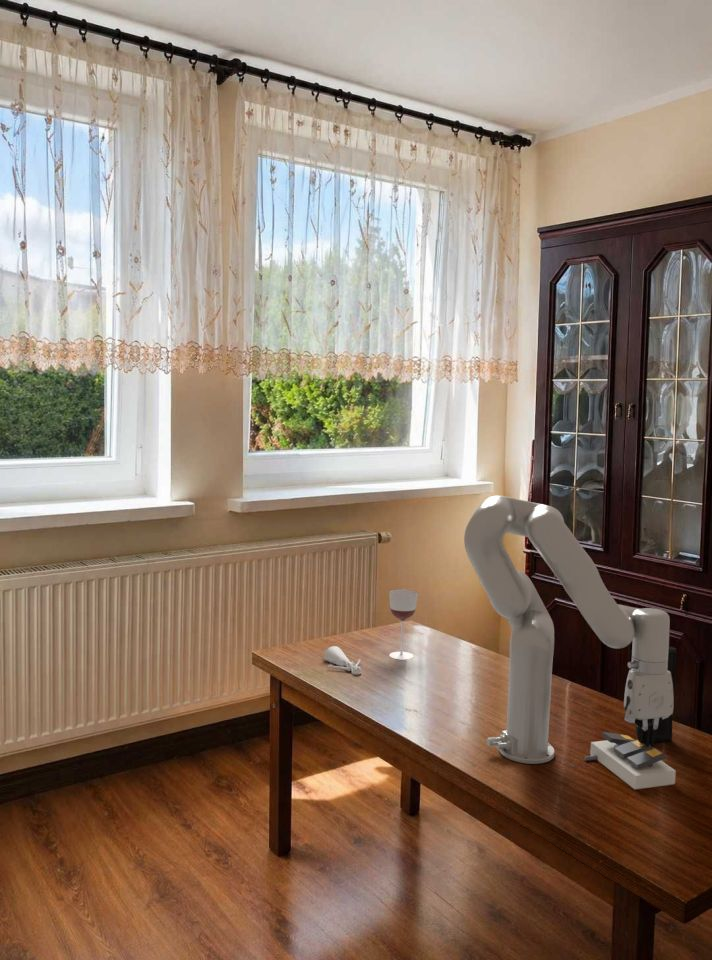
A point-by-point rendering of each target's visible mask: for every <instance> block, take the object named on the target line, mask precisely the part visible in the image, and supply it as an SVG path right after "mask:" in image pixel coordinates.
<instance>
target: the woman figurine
mask: <svg viewBox="0 0 712 960" xmlns="http://www.w3.org/2000/svg"><path fill="white" fill-rule="evenodd" d="M323 658H324V660H325V661H326V662H329V664H327V667H328V668H336V669H340V670H344V671H345V670H346V671H347V672H351V674H352V675H354V676H359V675H360V674H361V675H362V668H361V667H360V666H359V664H360V663H361V659H362V658H359V659H358V661H357V663H355V662H354V661H353V660H350V659H349V658H348V657H347V655H346V654H345V653H344V652H343V650H342V648H340V647H339V646H336V645H334V646H330V647H328V648H327V647H325V648H324V654H323ZM335 664H336V665H335Z"/></svg>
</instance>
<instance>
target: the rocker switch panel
mask: <svg viewBox="0 0 712 960" xmlns="http://www.w3.org/2000/svg"><path fill="white" fill-rule="evenodd" d="M616 746H618V745H617V744H615V743H610V742H609V741H608V740H606V739H605V740H599V741H591V742H590V751H589V753H590V755H586V756H584V761H587V762H588V761H596V760H597V761H598V762H599V763H600V764H601V765H603V766H604V767H606V769H608V770H609V771H611V772H612V773H613V774H614V775H616V777H618V778H620V779H621V780H622V781H623V782H624V783H626V784H627V785H628V786H630V788H632V789H634V790H641V789H649V788H655V787H662V786H672V785H675V784H676V774H677V771H676V769H674V768H673V767H671V766H669V765H668V764H667V763H665V762H664V761H663V760H661V761H658V762H655V763H653V766H652V767H649V766H645V767H642V768H639V769H637V768H636V767H634V766H633V765H632V764H630V763H629V762H628V759H627V758H623V757H621V756H620V755H619V754H617V753H616V752H614V747H616Z"/></svg>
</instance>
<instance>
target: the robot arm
mask: <svg viewBox="0 0 712 960" xmlns="http://www.w3.org/2000/svg"><path fill="white" fill-rule="evenodd" d="M506 534H512V535H517V536H521V537H524V538H526V537H527V539H528V540H529V542H530V543H531V544H532V545H533V548H535V550H536V551H537V552H538V554H539V555H540V557H541V558H542V559H543V560H544V562H545V563H546V564H547V566H548V567H549V568H550V570H551V571H552V573H553V574H554V575H555V577H556V579H557V580H558V581H559V582H560V584H561V585H562V587H563V589H564V591H565V592H566V594H567V595H568V596H569V598H570V599H571V600H572V602H573V603H574V605H575V607H576V608H577V609H578V610H579V613H580V614H581V616H582V617H583V618H584V620H585V621H586V623H587V624H588V626H589V627H590V628H591V630H592V631H593V632H594V633H595V635H596V636H597V637H598V639H599V640H600V641H601V642H602V643H603V644H604V645H606V646H607V647H609V648H612V649H617V650H618V649H623V648H626V647H628V646H629V645H630V644H632V649H631V661H629V662H627V668H628V669H629V671H628V674H627V678H626V683H625V687H624V696H623V697H624V699H623V710H624V712H625V715H624V718H623V719H624V721H625V722H627V723H630V724H634V725H635V727H636V726H638V735H637V739H638V741H639V742H640V743H643V744H645V745H646V746H647V748H648V747H649V744H650V745H651V748H654V746H655V742H654V740H655V730H656V729H657V728H658V724H659V723H660V722H661V720H662V719H665V718H668V717H669V716H670V715H671V714H672V713H673V714H674V706H675V705H674V702H675V701H674V699H675V697H674V698H673V683H672V677H671V673H670V671H668V670H667V669H668V649H669V646H670V637H669V636H670V625H671V624H670V622H671V621H670V620H671V619H670V615H669V614H668V613H667V612H666V611H665V610H662V609H659V608H653V607H652V608H651V607H649V608H648V607H645V608H644V607H642V608H639V607H633V606H629V605H623V604H620V603H619V604H618V603H617V601H616V600H615V599H614V598H613V596H612V595H611V593H610V591H609V589H607V587H606V585H605V583H604V582H603V579H602V578H601V575H600V572H599V570H598V568H597V566H596V564H595V563H594V561H593V559H592V558H591V557H590V555H589V554H588V553H587V552H586V550H585V548H583V546H582V545H581V544H580V542H579V541H578V539H577V537H575V535H574V534H573V532H572V531H571V530H570V528H569V527H568V526H567V524H566V523H565V520H564V516H563V514H562V513H561V512H560V511H559V510H558V509H557V508H555V507H553V506H551V505H548V504H544V503H537V502H532V501H528V500H524V499H518V498H514V497H509V496H506V495H505V496H504V495H493V496H489V497H488V498H486V499H484V500H483V501H482V503H480V505H479V506H478V507H477V509H476V510H475V511H474V513H473V514H472V516H471V517H470V519H469V521H468V523H467V525H466V527H465V532H464V537H463V540H464V543H463V545H464V549H465V551H466V556H467V557H468V560H469V562H470V564H471V567H472V568H473V570H474V571H475V574H476V575H477V578H478V580H479V582H480V584H481V586H482V588H483V590H484V591H485V593H486V596H487V597H488V600H489V602H490V604H491V606H492V608H493V609H494V611H495V612H496V613H497V614H498V615H499V616H501V617H503V618H506V620H507V622H508V624H509V625H510V627H511V633H510V634H511V635H510V639H509V640H510V641H509V663H508V664H509V670H508V692H507V709H506V710H507V714H506V716H507V717H506V728H505V730H501V734H499V735H498V736H492V737H487V738H486V740H485V741H486V746H487V747H495V748H496V749H497V750H498V752H499V753H500V754H501V755H502V756H503V757H505V758H506V759H509V760H511V761H514V762H517V763H521V764H526V765H527V764H528V765H529V764H530V765H531V764H532V765H540V764H545V763H547V762H551V760H553V759H554V757H555V749H554V747H553V746H552V745H551V743H549V733H550V713H551V711H550V710H551V697H552V679H553V678H552V675H553V674H552V673H553V662H554V661H553V660H554V659H553V658H554V652H555V651H554V650H555V627H554V622H553V619H552V618H551V615H550V613H549V611H548V610H547V608H546V606H545V604H544V602H543V600H542V598H541V597H540V595H539V593H538V591H537V588H536V587H535V585H534V583H533V582H532V580H531V579H530V577H529V576H528V575H527V574H526V573H525V572H523V571H522V570H519V569H516V567H515V564H514V562H513V561H512V558H511V556H510V555H509V553H508V551H507V550H506V548H505V547H504V544H503V539H504V537H505V535H506Z"/></svg>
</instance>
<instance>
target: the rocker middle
mask: <svg viewBox="0 0 712 960" xmlns="http://www.w3.org/2000/svg"><path fill="white" fill-rule="evenodd" d="M649 749H652V747H651V745H650V744H649V747H648V748H647V746H646V745H645V744H643V743H640V742H639V741H638V738H637V739H634V741H631V742H628V743H625V744H622V745H619V746H616V747H614V752H616V753H617V754H619V755H620V756H621V757H623V758H627V757H630V756H633V755H635V754H638V753H641V752H643V751H646V750H649Z"/></svg>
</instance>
